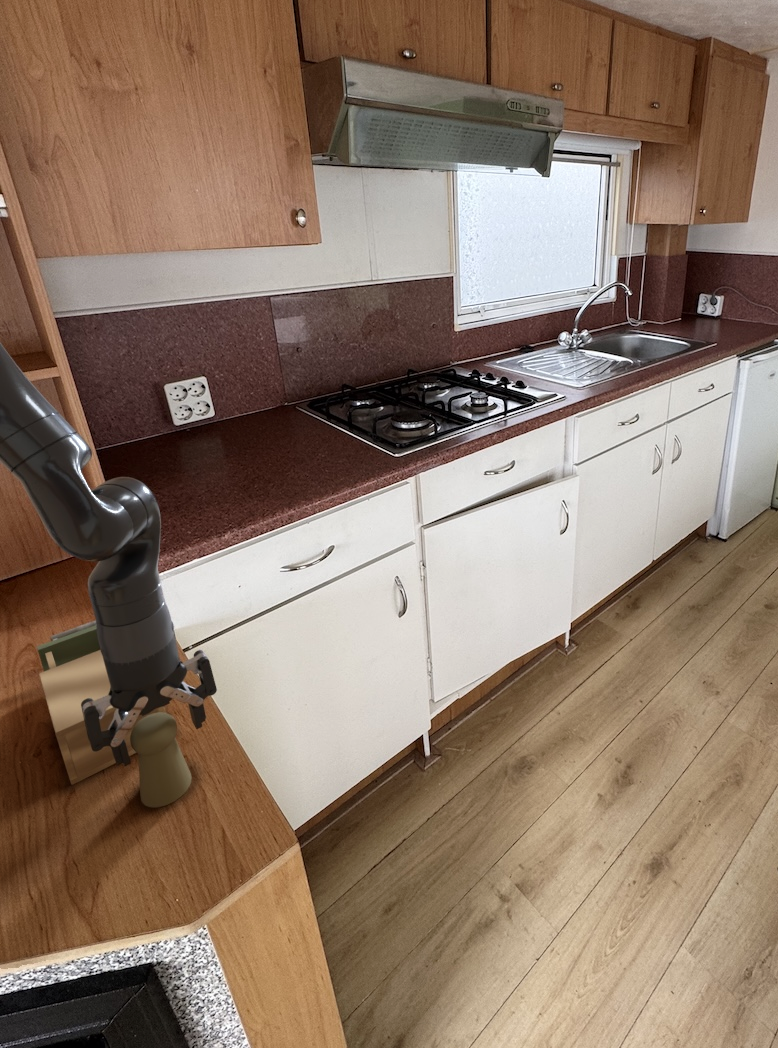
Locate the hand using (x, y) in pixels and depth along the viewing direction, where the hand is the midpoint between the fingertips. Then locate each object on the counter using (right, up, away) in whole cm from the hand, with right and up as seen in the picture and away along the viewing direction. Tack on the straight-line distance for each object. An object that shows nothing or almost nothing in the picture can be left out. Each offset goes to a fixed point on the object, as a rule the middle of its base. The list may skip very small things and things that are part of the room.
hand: (162, 742), depth 75 cm
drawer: (-22, 0, +19) cm, 29 cm away
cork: (-1, -7, +2) cm, 7 cm away
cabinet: (-14, -4, +11) cm, 18 cm away
